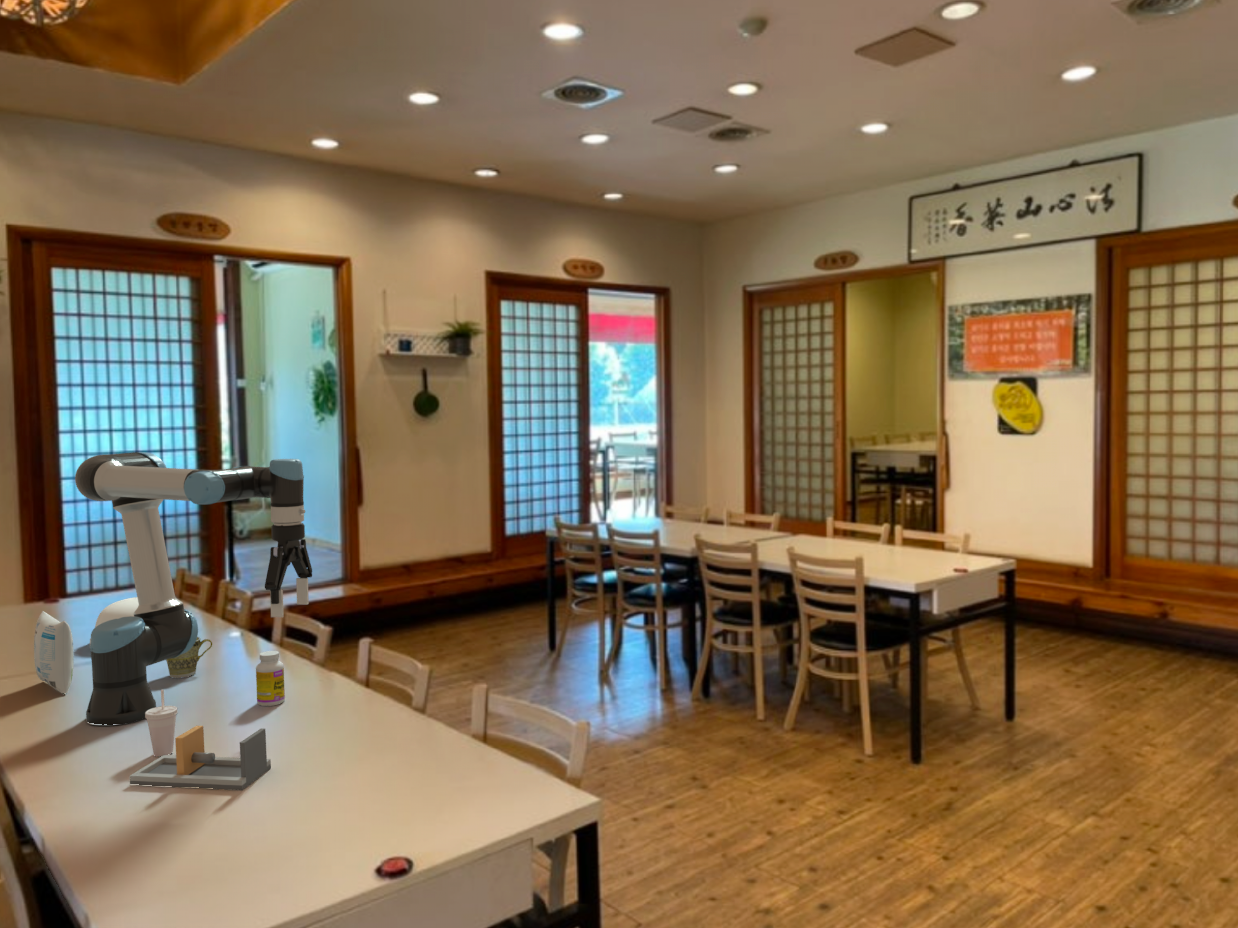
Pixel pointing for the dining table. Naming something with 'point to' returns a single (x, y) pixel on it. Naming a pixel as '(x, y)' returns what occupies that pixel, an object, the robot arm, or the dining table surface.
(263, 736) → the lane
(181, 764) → the pusher
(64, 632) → the pouch
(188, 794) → the dining table surface
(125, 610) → the dome cover
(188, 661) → the ceramic cup
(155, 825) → the dining table surface
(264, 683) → the supplement bottle
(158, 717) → the smoothie
